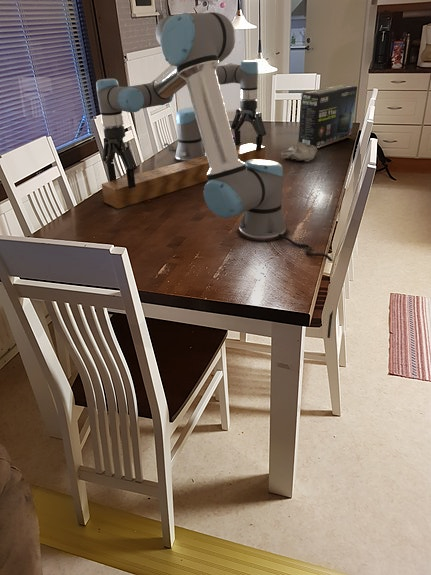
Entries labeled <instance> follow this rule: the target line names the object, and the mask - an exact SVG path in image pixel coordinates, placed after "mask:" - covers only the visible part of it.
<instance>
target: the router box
mask: <svg viewBox="0 0 431 575" xmlns="http://www.w3.org/2000/svg"><path fill="white" fill-rule="evenodd" d="M357 93H358V86H356V85H350V84H339V85H338V84H337V85H334V86H328V87H324V88H318V89H314V90H309V91H304V92H301V93H300V109H299V110H300V111H299V124H298V137H297V143H298V142H303V143H307V144H308V145H314V146H315V147H317V146H320V145H323V144H325V143H328V142H331V141H333V140H336V139H338V138H341V137H344V136H347V135H351V136H352V133H353V132H352V131H353V125H354V115H355V109H356V99H357Z"/></svg>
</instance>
